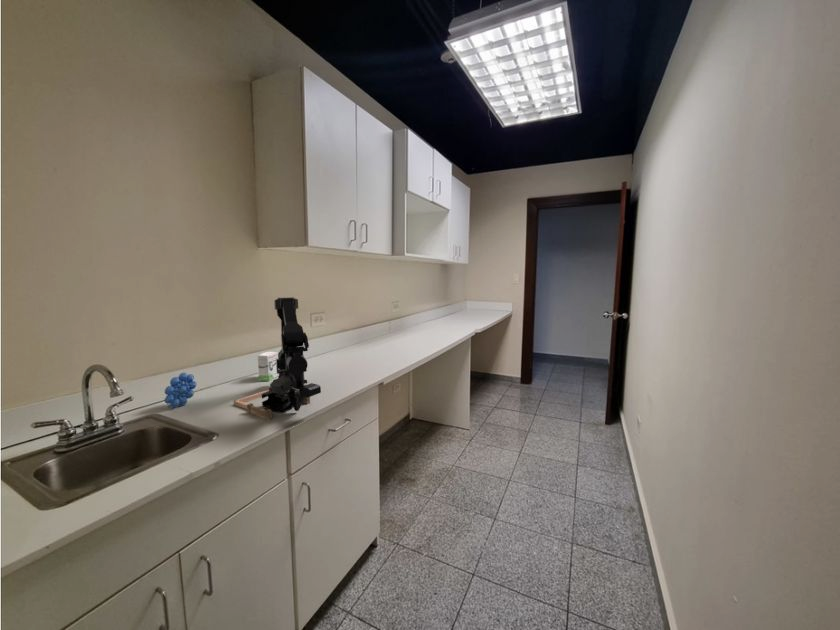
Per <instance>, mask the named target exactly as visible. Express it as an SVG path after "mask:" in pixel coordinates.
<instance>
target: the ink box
mask: <svg viewBox="0 0 840 630" xmlns="http://www.w3.org/2000/svg"><path fill="white" fill-rule="evenodd" d="M278 353H279V352H278V351H266V352H263V353H260V354H258V355H257V365H258V366H257V367H258V380H259V381H260V382H270V381H273V380H275V379H277V378H278V376H279V374H277V369H276V359H278Z"/></svg>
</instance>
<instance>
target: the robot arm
mask: <svg viewBox="0 0 840 630" xmlns="http://www.w3.org/2000/svg"><path fill="white" fill-rule="evenodd" d="M273 302H274V310H276V314H277V317H278V318H279V319H280V332H281V334H280V342H281V349H280V350H279V352H277V353H278V359H276V369H277V374H279V376H277V378H274V379H272V382H271V383H270V384H269V385H270V388H272V390H273V393H277V394H279V395H282V394H284V393H285V394H286V395H288V396H289V398H290V400H291V402H292V405H293V409H294V411H296V412H298V411H300V409H301V406H302V404H303V403H302V402H303V400H304V398H305V397H306V398H307V397H310V398H311V397H313V396H316V395H318V394H321V392H322V387H321V386H320V385H319V384H317V383H312V382H311V383H308V380H307V379H305V373H306V372H307V371H308V370H307V369H308V365H309V364H308V361H307V359H306V358H305V355H304V352H308V351H309V347H310V345H309V344H310V343H309V339H308V335H307V334H306V332H304V329H303V326H302V325H300V323H298V318H297V309H299V299H298V298H295V297H294V296H292V297H277V299H274V301H273ZM307 383H308V384H307Z"/></svg>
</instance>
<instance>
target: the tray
mask: <svg viewBox="0 0 840 630" xmlns="http://www.w3.org/2000/svg"><path fill="white" fill-rule="evenodd" d="M268 391H269V389H267V390H264V391H260V392H257V393H255V394H251V395H248V396H244V397H242V398H238V399H236V400H233V405H234V406H235V407H239V408H241V409H244V410H247V404H248V403H247V402H251V401H253V400H257V399H259V398H262V394H263V393H265V392H268Z"/></svg>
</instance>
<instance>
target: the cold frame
mask: <svg viewBox="0 0 840 630" xmlns="http://www.w3.org/2000/svg"><path fill="white" fill-rule="evenodd" d="M310 403H311V397H307V398H306V397H305V398H304V400H303V402H302V404H305V405H309V404H310ZM246 411H247V414H251V415H253V416H257V417H260V418H261V419H262V418H263V419H265V420H267V421H269V420H273V415H272V414H273V413H272V411H271V410H270V409H267V410H265V409H263V408H261V407H258V406H256V405H254V403H247V409H246Z"/></svg>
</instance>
